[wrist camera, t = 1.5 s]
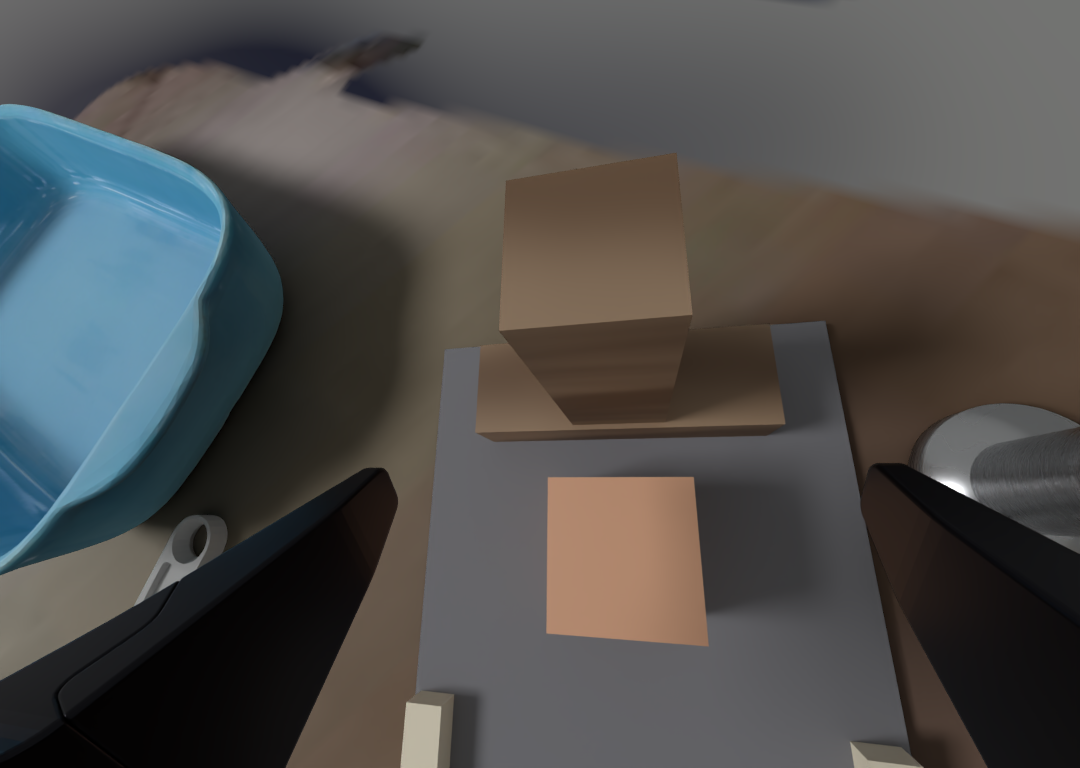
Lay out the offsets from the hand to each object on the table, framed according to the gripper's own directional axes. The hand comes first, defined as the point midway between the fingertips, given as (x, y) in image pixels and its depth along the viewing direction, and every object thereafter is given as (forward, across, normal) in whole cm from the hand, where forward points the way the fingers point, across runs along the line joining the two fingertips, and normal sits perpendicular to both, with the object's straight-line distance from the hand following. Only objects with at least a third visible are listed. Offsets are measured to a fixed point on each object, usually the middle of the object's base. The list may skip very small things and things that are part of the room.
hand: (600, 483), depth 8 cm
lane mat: (+4, 0, +11) cm, 12 cm away
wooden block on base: (+11, 0, +4) cm, 12 cm away
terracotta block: (+6, 0, +9) cm, 11 cm away
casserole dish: (+16, +35, +1) cm, 38 cm away
